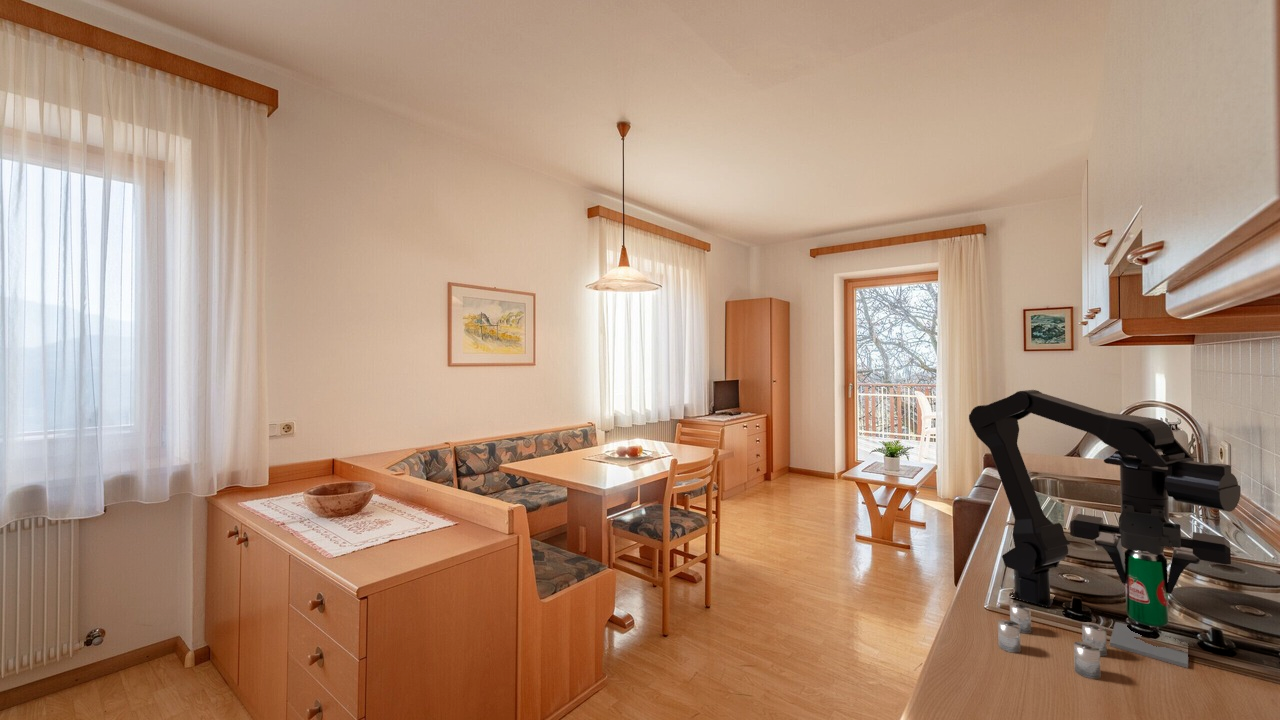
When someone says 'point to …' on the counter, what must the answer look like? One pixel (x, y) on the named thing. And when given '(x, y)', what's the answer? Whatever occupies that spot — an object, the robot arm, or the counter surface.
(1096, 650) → the spacer posts
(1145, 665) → the counter surface
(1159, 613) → the soda can
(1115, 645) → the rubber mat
